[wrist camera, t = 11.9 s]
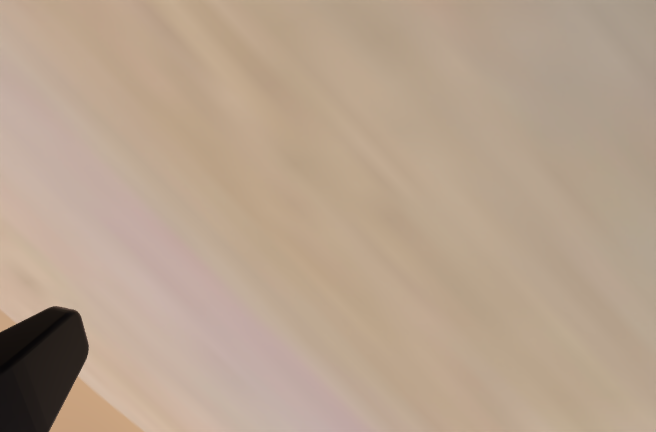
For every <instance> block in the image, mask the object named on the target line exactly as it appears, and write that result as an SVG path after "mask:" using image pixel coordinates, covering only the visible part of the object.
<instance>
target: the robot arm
mask: <svg viewBox="0 0 656 432" xmlns="http://www.w3.org/2000/svg"><path fill="white" fill-rule="evenodd" d="M88 350H89V345H88V341H87V337H86V333H85V329H84V326H83V322H82V318H81V316H80V314H79V313H78V312H77V311H76V310H72V309H68V308H63V307H58V306H54V307H50V308H48V309H46V310H44V311H42V312H40V313H38V314H36V315H34V316H32V317H30V318H28V319H26V320H24V321H22V322H20V323H18V324H16V325H14V326H12V327H10V328H8V329H6V330H4V331H2V332H0V432H49V430H50V428H51V427H52V425H53V423H54V421H55V419H56V417H57V415H58V413H59V411H60V409H61V407H62V405H63V403H64V401H65V400H66V398H67V396H68V394H69V392H70V390H71V388H72V386H73V384H74V382H75V380H76V378H77V376H78V374H79V372H80V370H81V369H82V367H83V365H84V363H85V361H86V358H87V355H88Z"/></svg>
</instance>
